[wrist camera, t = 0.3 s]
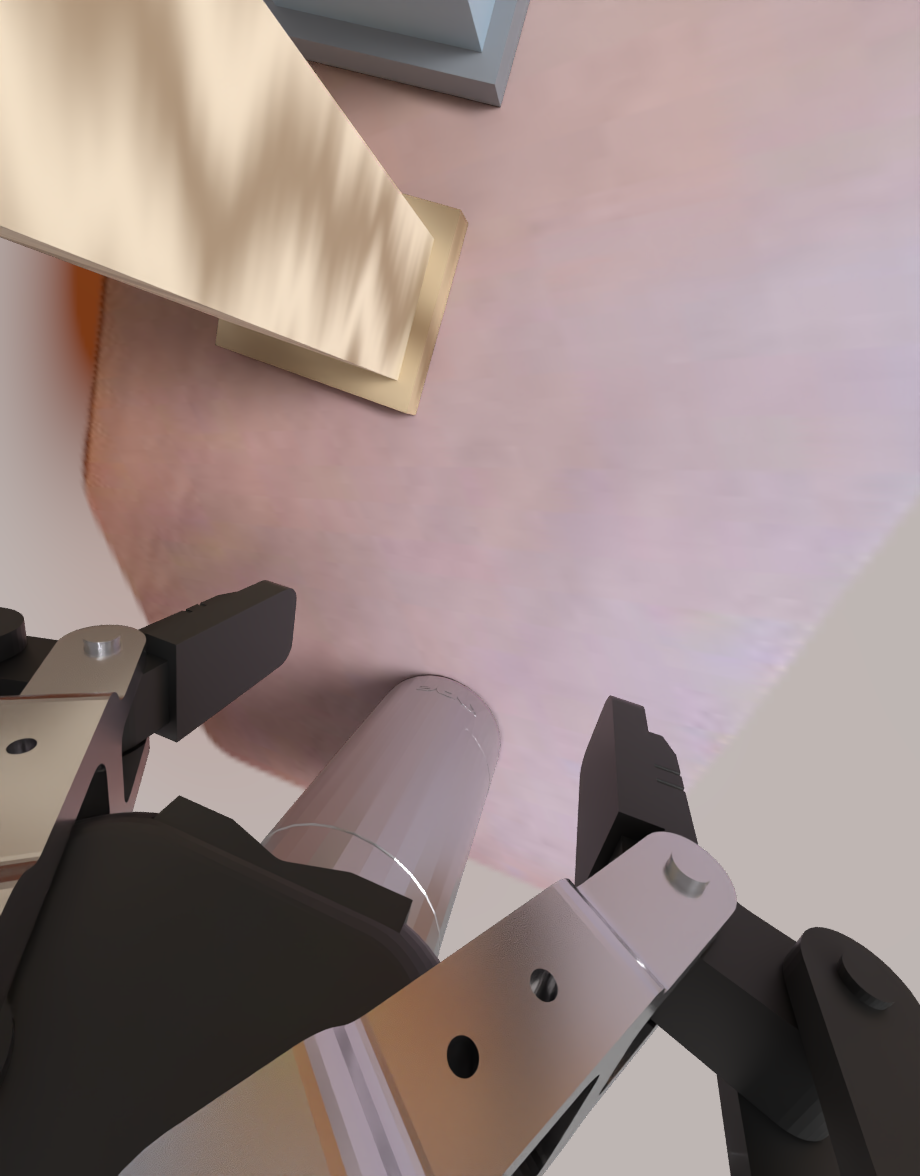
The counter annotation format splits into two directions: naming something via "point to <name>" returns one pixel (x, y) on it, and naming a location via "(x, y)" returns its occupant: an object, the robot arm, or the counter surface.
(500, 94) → the post
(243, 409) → the counter surface
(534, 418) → the counter surface
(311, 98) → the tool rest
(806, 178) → the counter surface
